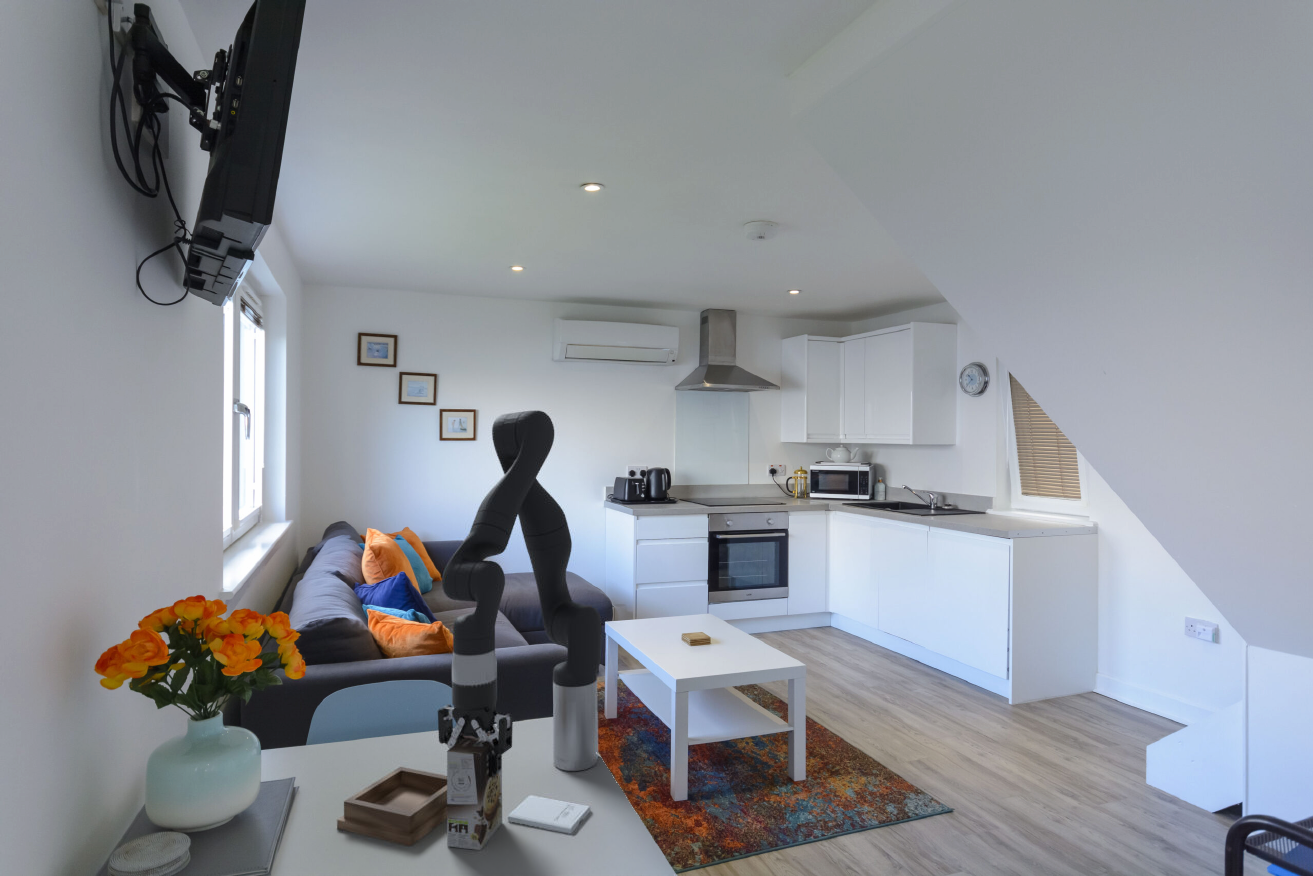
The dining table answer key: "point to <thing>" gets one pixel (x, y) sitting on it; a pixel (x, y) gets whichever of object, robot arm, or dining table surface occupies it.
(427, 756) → the dining table surface
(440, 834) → the dining table surface
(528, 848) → the dining table surface
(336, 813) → the dining table surface
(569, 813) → the external hard drive
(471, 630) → the robot arm
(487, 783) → the coffee box
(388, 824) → the wooden tray
